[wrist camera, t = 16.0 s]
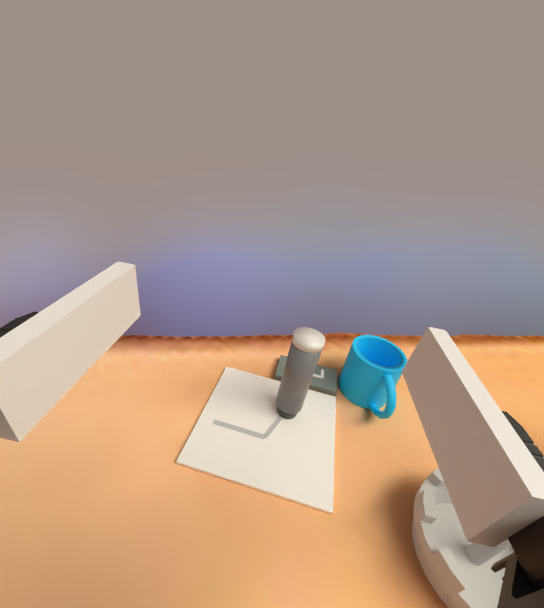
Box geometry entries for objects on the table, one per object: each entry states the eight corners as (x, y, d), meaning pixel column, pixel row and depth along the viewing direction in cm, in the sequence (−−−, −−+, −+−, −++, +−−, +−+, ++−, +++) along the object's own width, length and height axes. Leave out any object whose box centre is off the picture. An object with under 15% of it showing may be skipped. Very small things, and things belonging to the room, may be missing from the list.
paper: (176, 463, 31) (176, 460, 31) (226, 368, 45) (226, 366, 45) (331, 514, 29) (333, 512, 29) (335, 398, 43) (335, 396, 43)
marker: (270, 416, 38) (291, 340, 32) (276, 396, 41) (296, 324, 35) (298, 425, 37) (324, 349, 31) (301, 404, 41) (325, 332, 35)
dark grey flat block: (274, 379, 44) (275, 374, 44) (280, 359, 49) (281, 354, 48) (335, 396, 43) (337, 391, 43) (335, 374, 48) (337, 369, 47)
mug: (333, 368, 49) (346, 332, 45) (376, 372, 50) (393, 337, 45) (352, 430, 39) (371, 391, 34) (406, 433, 40) (432, 395, 35)
